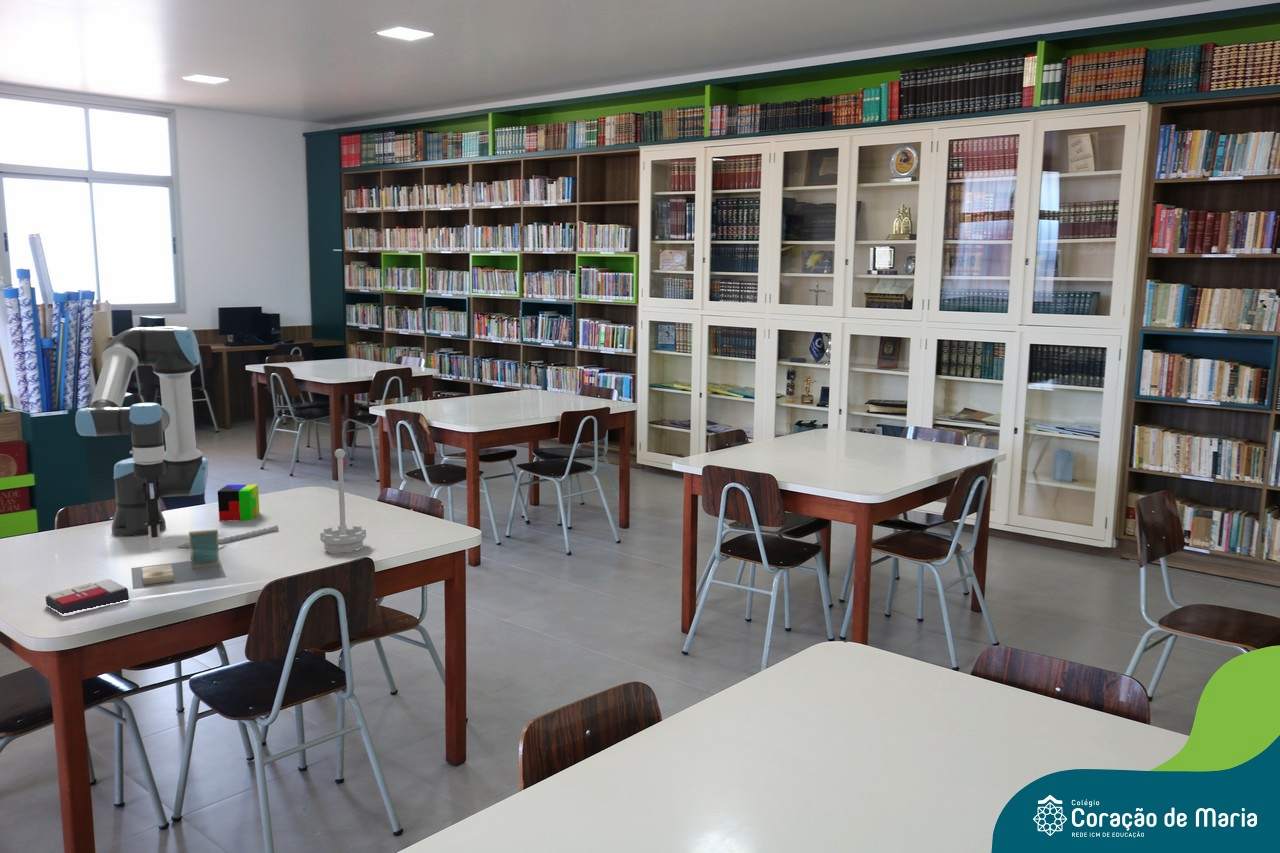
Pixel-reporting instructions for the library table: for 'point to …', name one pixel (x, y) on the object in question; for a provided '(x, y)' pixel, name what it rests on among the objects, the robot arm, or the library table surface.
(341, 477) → the flag stand
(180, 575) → the mat
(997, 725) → the library table surface
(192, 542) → the tile
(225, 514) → the puzzle toy
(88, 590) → the black red flat box
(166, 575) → the tile
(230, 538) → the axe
